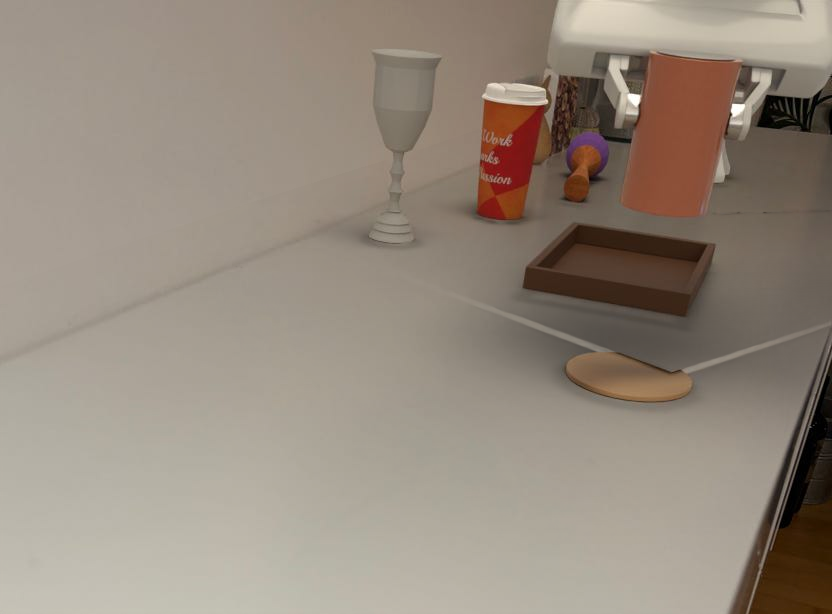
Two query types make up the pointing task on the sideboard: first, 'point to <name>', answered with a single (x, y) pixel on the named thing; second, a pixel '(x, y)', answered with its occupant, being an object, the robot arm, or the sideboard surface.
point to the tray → (622, 268)
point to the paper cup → (508, 147)
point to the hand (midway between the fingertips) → (680, 129)
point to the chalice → (401, 123)
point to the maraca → (584, 163)
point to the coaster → (626, 377)
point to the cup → (679, 132)
